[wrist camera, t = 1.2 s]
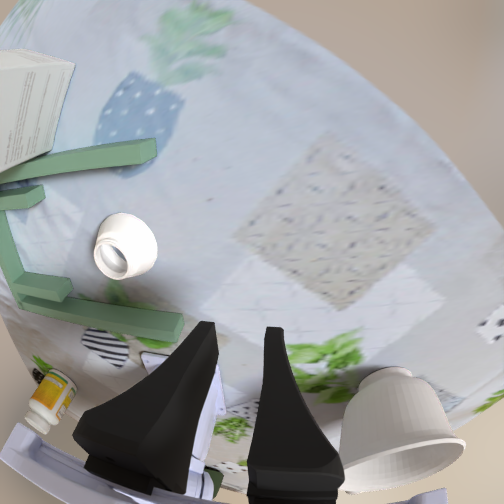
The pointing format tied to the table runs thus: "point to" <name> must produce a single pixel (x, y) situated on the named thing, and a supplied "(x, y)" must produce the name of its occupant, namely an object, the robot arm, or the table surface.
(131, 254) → the white jar
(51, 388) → the supplement bottle
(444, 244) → the table surface
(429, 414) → the teacup
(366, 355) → the table surface
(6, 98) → the supplement box
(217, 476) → the character mug
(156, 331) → the green frame
